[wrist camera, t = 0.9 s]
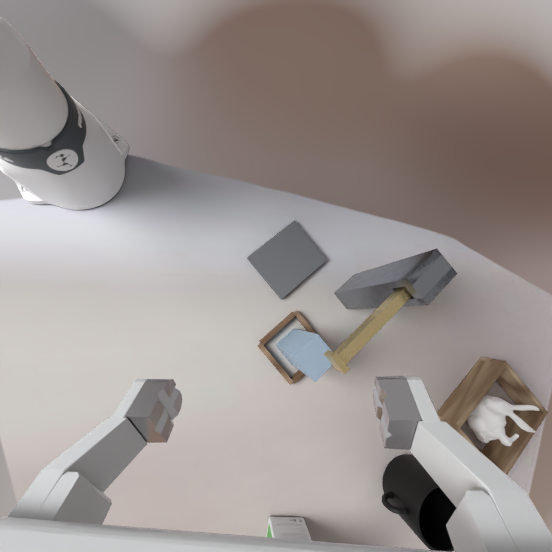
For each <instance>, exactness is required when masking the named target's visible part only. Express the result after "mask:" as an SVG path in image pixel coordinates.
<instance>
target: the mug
mask: <svg viewBox="0 0 552 552" xmlns="http://www.w3.org/2000/svg"><path fill="white" fill-rule="evenodd" d="M383 490H384V494H383V496H382V503H383V504H384V506H385V507H386V508H387V509H389V510H390V511H392V512H393V513H396V514H399V515H400V516H401V518H402V519H403V520H404V521H405V522H406V523H407V525H408V526H409V527H410V528H411V529H412V530H413V531H414V533H415V534H416V535H417V536H418V537H419V538H420V539H421V541H422V542H423V543H424V544H425V545H426V546H427V547H428V548H429V549H430V550H436V551H448V552H452V551H454V548H453V545H452V542H451V539H450V536H449V533H448V530H447V527H446V524H447V523H448V521H449V519H450V518H451V516H452V514H453V513H454V511H455V509H456V507H455V505H454V504H453V503H452V502H451V500H450V499H449V498H448V497H447V496H446V494H445V493H444V492H443V491H442V489H441V488H440V487H439V486H438V485H437V483H436V482H435V481H434V480H433V478H432V477H431V476H430V475H429V474H428V472H427V471H426V470H425V469H424V467H423V466H422V465H421V464H420V463H419V461H418V460H417V459H416V458H415V457H413V456H410V455H400V456H398V457H396V458H394V459H393V460H392V461H391V462H390V463H389V464H388V466H387V467H386V469H385V472H384V475H383Z"/></svg>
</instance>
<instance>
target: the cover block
mask: <svg viewBox="0 0 552 552" xmlns="http://www.w3.org/2000/svg"><path fill="white" fill-rule="evenodd" d="M276 346H277V347H278V349H279V350H280V351H281V352H282V353H283V355H284V356H285V357H286V358H287V360H288V361H289V362H290V363H291V364H292V365H293V366H295V367H296V368H297V369H299V370H300V371H301V372H303V373H304V374H305V375H306V376H308V377H309V378H310V379H312V380H313V381H314V382H316V381H317V380H318V379H319V378H320V377H321V376H322V375H323V374H324V373H325V372H326V371H327V370H328V369H329V368H330V367H331V366H332V364H331V363H330V362H329V360H328V359H327V358H326V357H325V356H324V353H325V352H326V351H327V350H330V351H331V349H330V348H329V347H328V346H327V345H326V343H325V342H324V341H323V340H322V339H321V337H320V336H319V335H318V334H316V333H311V332H306V331H302V330H297V329H293V330H292V331H291V332H290V333H288V334H287V335H286V336H285V337H284V338H283V339H282V340H281V341H280V342H279V343H278V344H276Z"/></svg>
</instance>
